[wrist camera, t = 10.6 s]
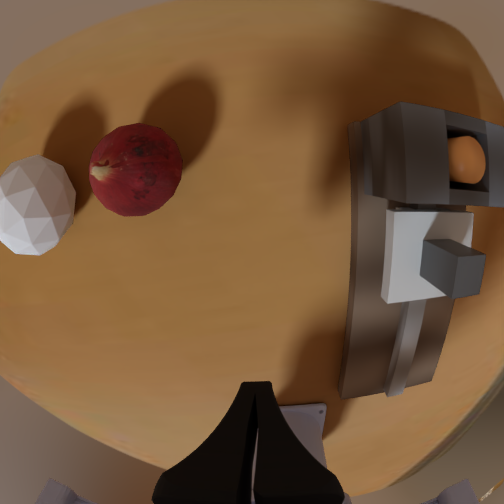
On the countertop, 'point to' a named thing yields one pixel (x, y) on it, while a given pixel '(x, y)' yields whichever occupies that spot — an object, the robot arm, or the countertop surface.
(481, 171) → the brown egg
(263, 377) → the countertop surface
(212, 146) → the countertop surface
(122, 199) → the onion
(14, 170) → the ball
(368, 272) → the rail bed
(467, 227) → the carriage
